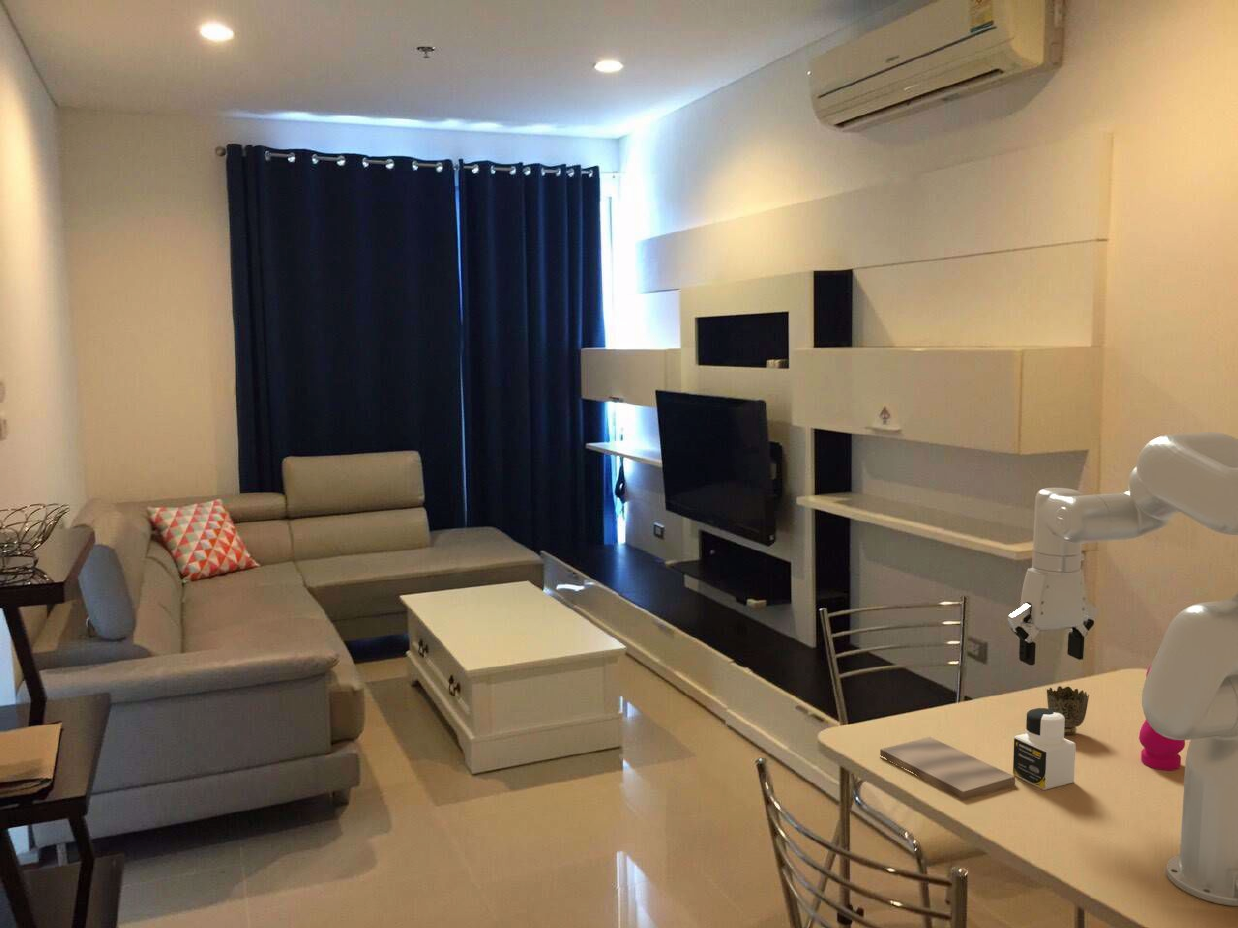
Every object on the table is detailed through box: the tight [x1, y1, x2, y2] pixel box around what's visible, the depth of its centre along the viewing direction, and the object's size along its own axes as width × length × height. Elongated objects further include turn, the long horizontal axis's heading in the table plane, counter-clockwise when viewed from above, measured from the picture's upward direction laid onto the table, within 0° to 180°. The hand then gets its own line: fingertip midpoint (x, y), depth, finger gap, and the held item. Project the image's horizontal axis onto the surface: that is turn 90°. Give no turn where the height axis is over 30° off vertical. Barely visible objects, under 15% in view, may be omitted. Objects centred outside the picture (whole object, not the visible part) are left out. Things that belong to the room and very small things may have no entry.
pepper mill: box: [1138, 664, 1186, 771], centre depth 183 cm, size 7×7×20 cm
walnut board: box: [879, 736, 1016, 801], centre depth 182 cm, size 20×12×2 cm, turn 27°
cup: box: [1046, 685, 1090, 736], centre depth 198 cm, size 8×7×8 cm
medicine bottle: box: [1012, 707, 1077, 791], centre depth 178 cm, size 7×7×12 cm
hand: (1051, 660), depth 176 cm, fingers open, 9 cm apart
